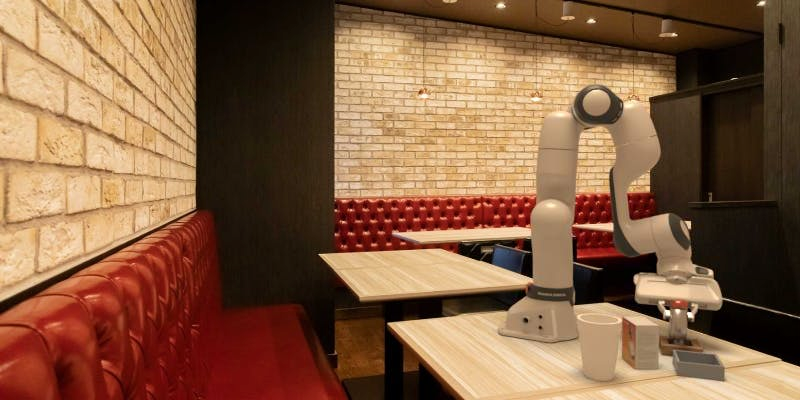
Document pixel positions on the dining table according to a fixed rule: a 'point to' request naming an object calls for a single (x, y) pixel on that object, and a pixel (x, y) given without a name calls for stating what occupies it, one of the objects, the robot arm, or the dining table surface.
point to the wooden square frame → (678, 346)
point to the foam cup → (599, 344)
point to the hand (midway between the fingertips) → (678, 319)
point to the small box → (640, 342)
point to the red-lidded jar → (678, 322)
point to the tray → (698, 365)
